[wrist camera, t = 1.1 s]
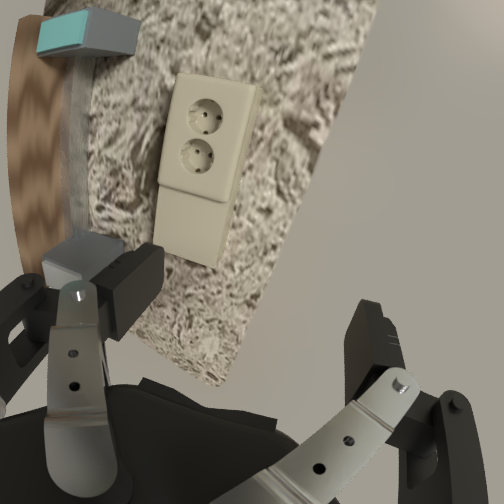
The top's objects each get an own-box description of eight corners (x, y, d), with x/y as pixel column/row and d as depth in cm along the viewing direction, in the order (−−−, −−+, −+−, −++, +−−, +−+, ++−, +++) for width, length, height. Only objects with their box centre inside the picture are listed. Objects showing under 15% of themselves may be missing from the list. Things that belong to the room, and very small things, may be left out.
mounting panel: (81, 26, 24) (19, 19, 16) (92, 24, 24) (30, 14, 15) (74, 254, 39) (28, 290, 30) (84, 258, 39) (38, 296, 30)
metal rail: (86, 58, 26) (66, 57, 23) (96, 57, 26) (76, 56, 23) (82, 229, 36) (65, 239, 33) (90, 231, 36) (73, 242, 33)
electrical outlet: (148, 251, 31) (175, 71, 22) (165, 235, 35) (193, 75, 26) (211, 273, 30) (255, 84, 22) (223, 255, 34) (264, 88, 25)
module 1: (92, 28, 24) (39, 19, 17) (140, 21, 24) (89, 5, 16) (86, 58, 26) (32, 57, 19) (134, 54, 25) (81, 46, 18)
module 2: (82, 229, 36) (38, 258, 29) (123, 240, 36) (80, 275, 28) (84, 255, 38) (44, 286, 31) (124, 268, 38) (85, 305, 30)
